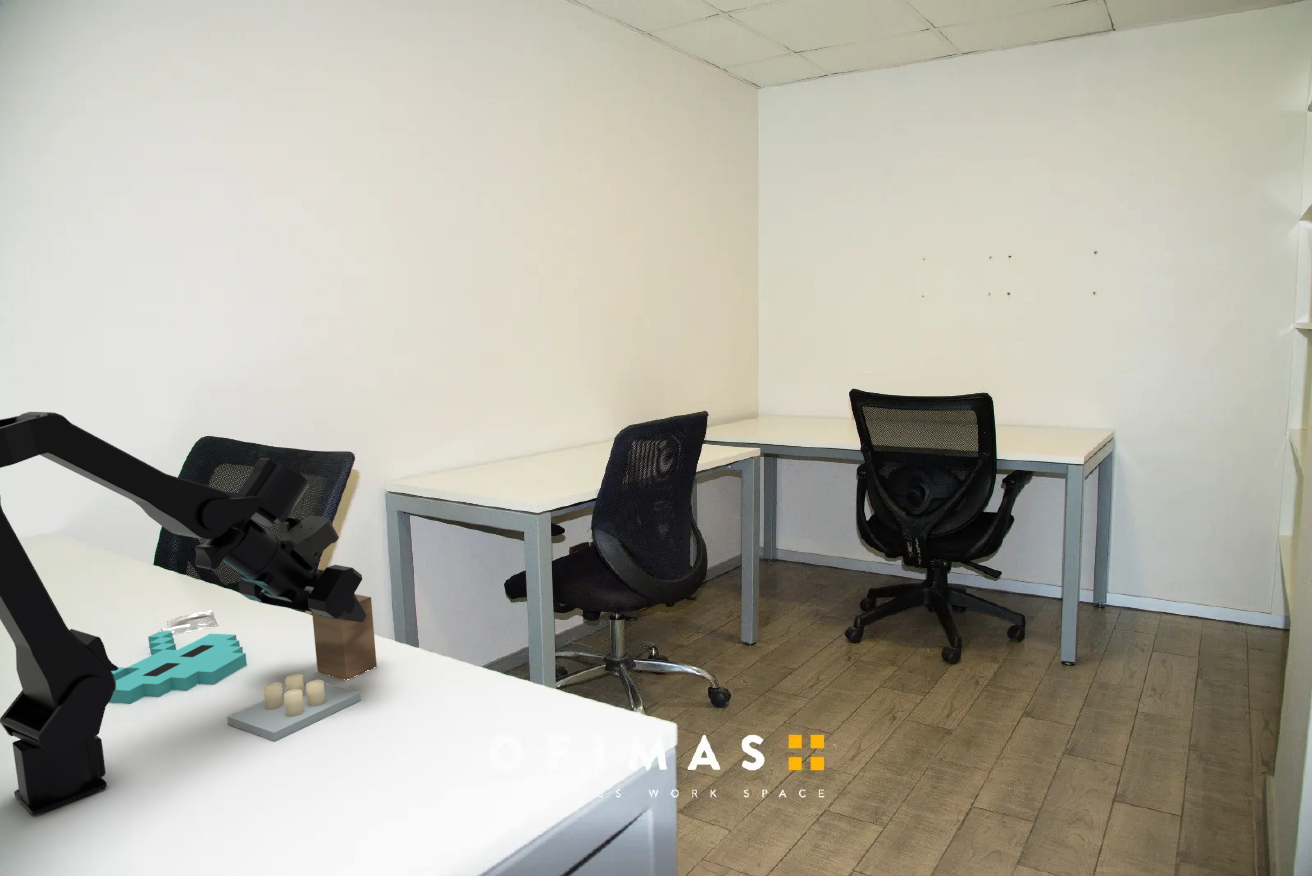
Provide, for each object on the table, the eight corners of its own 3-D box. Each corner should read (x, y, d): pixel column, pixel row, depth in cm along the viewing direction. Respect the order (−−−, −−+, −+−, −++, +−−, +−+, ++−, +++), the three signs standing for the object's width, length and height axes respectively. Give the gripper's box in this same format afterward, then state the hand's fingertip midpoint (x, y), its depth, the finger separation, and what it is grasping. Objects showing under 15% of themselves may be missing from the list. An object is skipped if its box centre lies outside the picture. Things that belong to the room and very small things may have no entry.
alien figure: (44, 701, 111) (176, 710, 107) (41, 685, 111) (174, 693, 107) (161, 645, 131) (277, 650, 127) (159, 631, 131) (275, 636, 126)
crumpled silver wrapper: (213, 618, 143) (213, 610, 143) (219, 629, 137) (218, 620, 137) (159, 628, 139) (158, 620, 139) (162, 640, 133) (161, 631, 133)
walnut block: (346, 680, 113) (340, 608, 112) (317, 672, 117) (311, 601, 115) (376, 667, 118) (371, 597, 116) (347, 660, 121) (342, 591, 119)
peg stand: (274, 741, 97) (271, 711, 96) (227, 724, 102) (225, 696, 101) (360, 700, 107) (358, 673, 107) (314, 686, 112) (312, 661, 111)
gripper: (342, 506, 104) (418, 570, 115) (250, 495, 114) (328, 555, 125) (292, 586, 99) (376, 645, 109) (199, 568, 108) (285, 624, 119)
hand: (341, 613), depth 116 cm, fingers open, 9 cm apart
